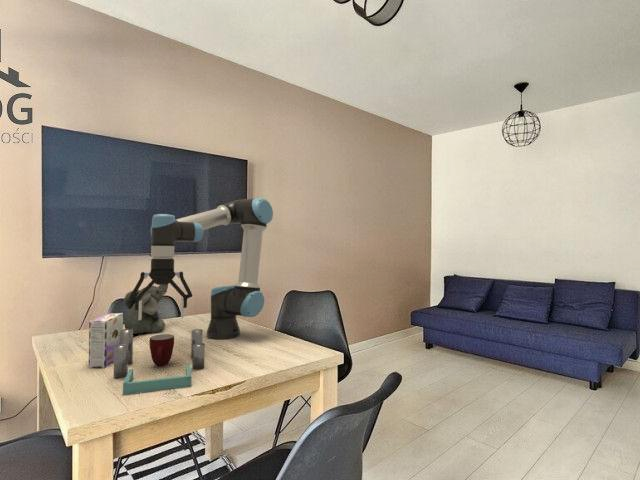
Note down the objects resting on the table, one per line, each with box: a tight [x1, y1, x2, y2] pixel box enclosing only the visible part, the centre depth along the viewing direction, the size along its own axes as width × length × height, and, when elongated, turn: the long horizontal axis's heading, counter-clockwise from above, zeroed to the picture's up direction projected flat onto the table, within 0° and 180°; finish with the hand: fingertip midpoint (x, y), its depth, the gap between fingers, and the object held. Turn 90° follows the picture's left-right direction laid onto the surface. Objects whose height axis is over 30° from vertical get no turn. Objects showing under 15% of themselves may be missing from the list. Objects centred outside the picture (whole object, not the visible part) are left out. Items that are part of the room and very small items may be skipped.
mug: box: [149, 333, 175, 368], centre depth 128 cm, size 11×8×10 cm
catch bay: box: [122, 362, 192, 396], centre depth 113 cm, size 18×13×3 cm
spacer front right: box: [113, 344, 129, 380], centre depth 118 cm, size 4×4×10 cm
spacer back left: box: [190, 328, 204, 358], centre depth 139 cm, size 4×4×10 cm
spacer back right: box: [120, 328, 134, 366], centre depth 130 cm, size 4×4×12 cm
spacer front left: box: [191, 342, 206, 371], centre depth 126 cm, size 4×4×8 cm
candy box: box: [88, 312, 124, 369], centre depth 132 cm, size 14×6×16 cm, turn 5°
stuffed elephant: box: [123, 284, 169, 335], centre depth 177 cm, size 19×21×27 cm
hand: (161, 318), depth 128 cm, fingers open, 13 cm apart
